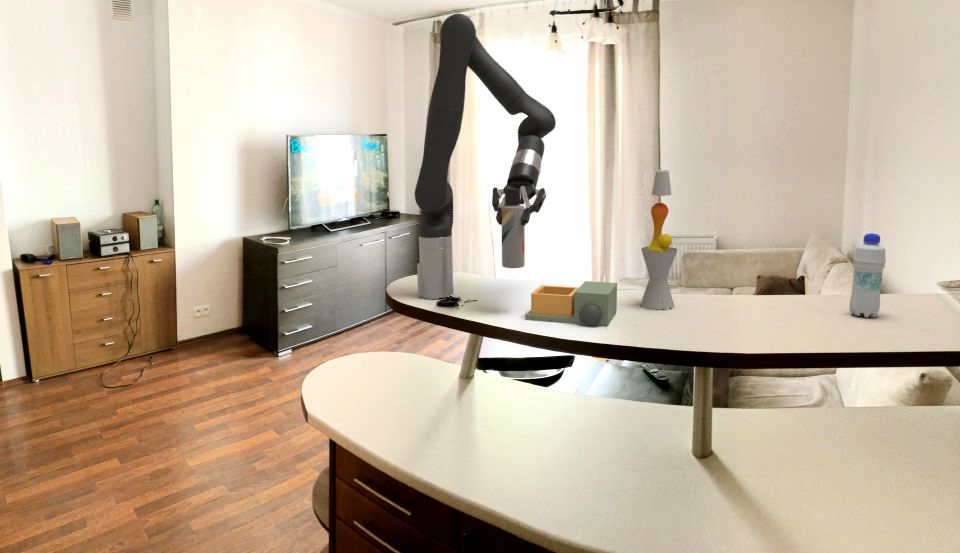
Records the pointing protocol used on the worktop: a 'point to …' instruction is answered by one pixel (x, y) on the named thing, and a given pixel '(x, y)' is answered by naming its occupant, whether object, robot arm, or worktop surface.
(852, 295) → the bottle
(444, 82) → the robot arm
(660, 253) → the lava lamp
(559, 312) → the tray with knob box
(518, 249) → the lotion bottle
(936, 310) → the worktop surface
